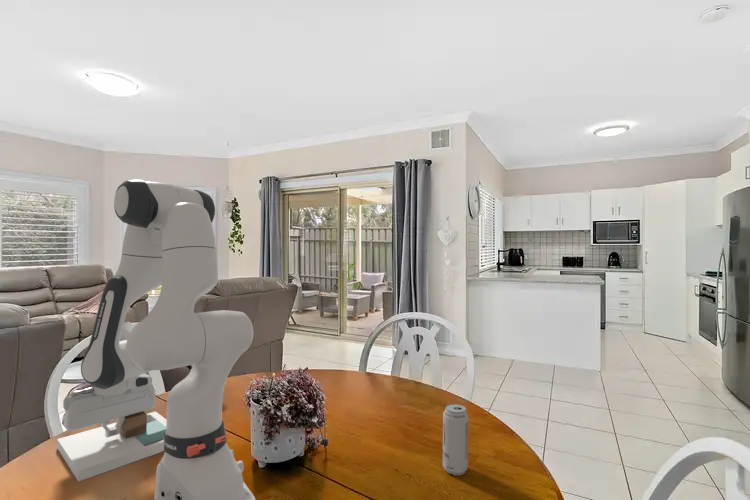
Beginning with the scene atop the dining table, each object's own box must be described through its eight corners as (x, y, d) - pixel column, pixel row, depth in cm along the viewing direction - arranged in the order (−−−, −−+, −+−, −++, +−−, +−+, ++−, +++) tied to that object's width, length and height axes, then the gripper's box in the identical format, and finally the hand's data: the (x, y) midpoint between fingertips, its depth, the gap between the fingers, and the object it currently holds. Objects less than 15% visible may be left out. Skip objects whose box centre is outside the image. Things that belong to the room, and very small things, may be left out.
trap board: (186, 443, 108) (186, 433, 108) (78, 481, 90) (78, 470, 90) (155, 419, 122) (155, 411, 122) (57, 448, 104) (57, 439, 104)
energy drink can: (441, 462, 99) (442, 402, 99) (466, 463, 98) (466, 403, 98) (443, 475, 93) (443, 412, 93) (469, 477, 92) (469, 413, 92)
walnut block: (146, 432, 108) (146, 414, 108) (125, 438, 104) (126, 419, 105) (139, 426, 112) (140, 409, 112) (119, 432, 108) (120, 414, 108)
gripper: (66, 397, 94) (66, 454, 94) (158, 376, 110) (158, 426, 110) (60, 390, 98) (60, 445, 98) (149, 371, 114) (149, 419, 114)
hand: (112, 435), depth 104 cm, fingers closed
